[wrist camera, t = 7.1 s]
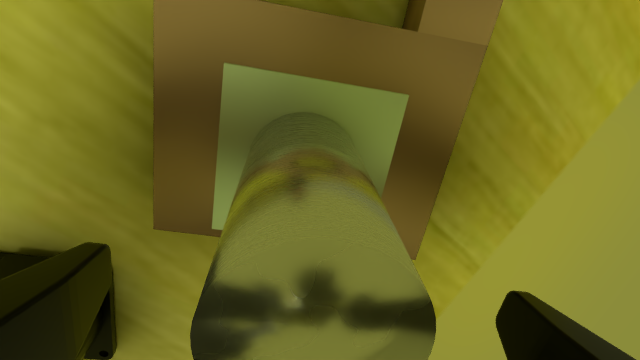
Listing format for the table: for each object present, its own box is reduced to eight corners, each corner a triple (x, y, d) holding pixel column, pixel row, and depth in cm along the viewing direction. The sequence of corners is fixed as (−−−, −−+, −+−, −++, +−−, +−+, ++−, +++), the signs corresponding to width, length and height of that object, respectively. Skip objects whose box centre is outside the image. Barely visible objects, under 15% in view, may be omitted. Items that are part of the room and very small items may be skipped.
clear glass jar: (345, 221, 16) (400, 429, 8) (241, 208, 16) (185, 418, 7) (368, 122, 14) (469, 256, 6) (253, 103, 14) (196, 223, 6)
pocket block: (403, 235, 20) (416, 262, 17) (169, 205, 18) (151, 231, 16) (543, -213, 13) (595, -262, 10) (179, -322, 11) (150, -405, 9)
